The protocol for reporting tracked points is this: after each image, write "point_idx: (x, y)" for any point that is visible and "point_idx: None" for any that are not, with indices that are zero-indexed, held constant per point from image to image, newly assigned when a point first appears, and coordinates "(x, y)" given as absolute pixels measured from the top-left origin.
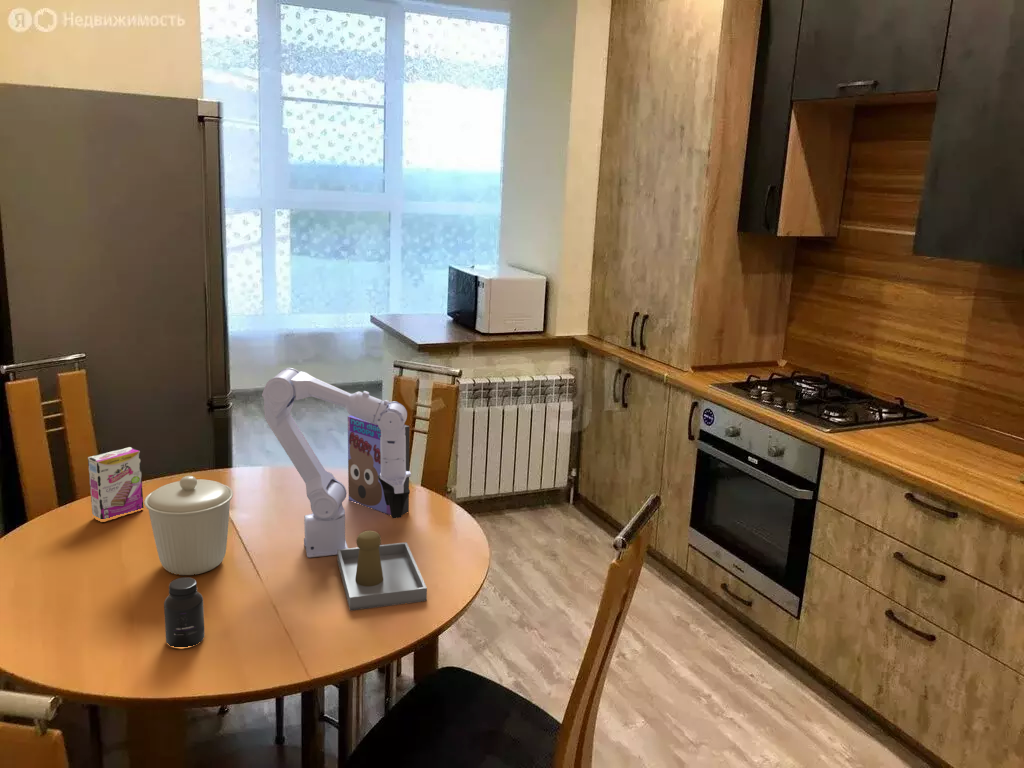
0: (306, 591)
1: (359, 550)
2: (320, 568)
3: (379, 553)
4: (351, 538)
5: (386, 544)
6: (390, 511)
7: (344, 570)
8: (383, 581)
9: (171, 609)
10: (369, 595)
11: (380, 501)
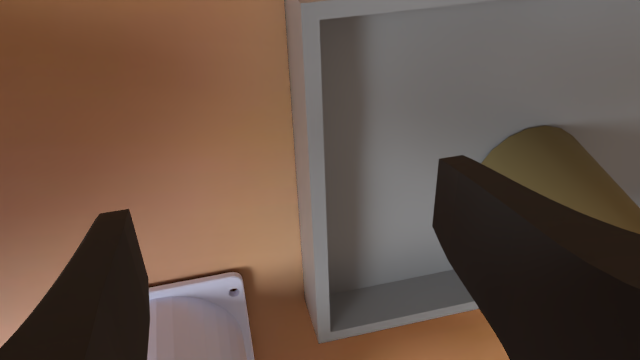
0: (495, 350)
1: None
2: (349, 342)
3: (634, 217)
4: (48, 273)
5: (307, 134)
6: (462, 276)
7: None
8: (564, 124)
9: None
10: None
11: None
